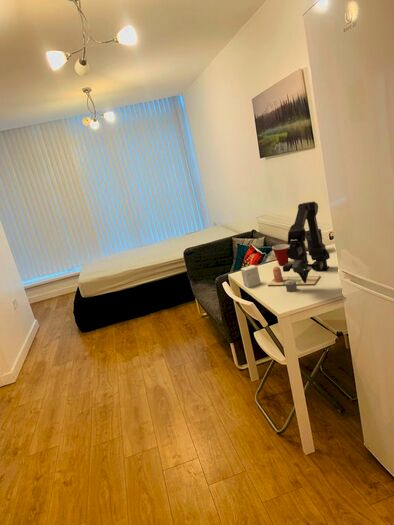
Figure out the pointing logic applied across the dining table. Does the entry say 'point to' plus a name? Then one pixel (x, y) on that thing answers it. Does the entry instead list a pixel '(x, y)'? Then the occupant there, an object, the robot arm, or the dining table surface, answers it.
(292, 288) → the die
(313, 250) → the robot arm
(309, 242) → the storage jar
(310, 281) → the board
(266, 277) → the dining table surface
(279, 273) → the pawn
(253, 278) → the small box
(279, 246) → the plastic cup
